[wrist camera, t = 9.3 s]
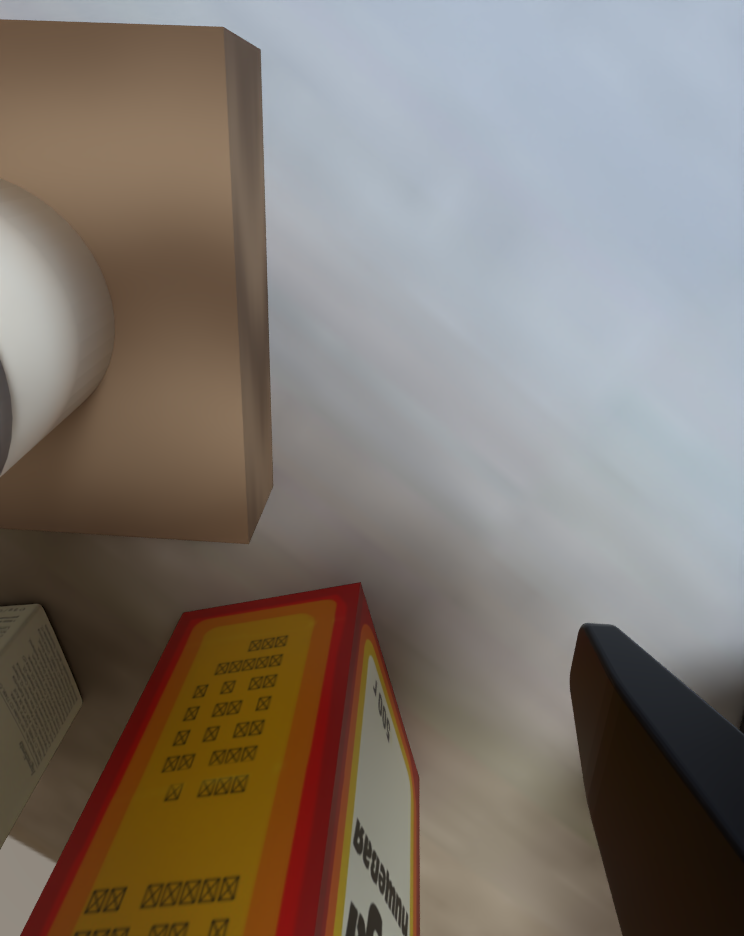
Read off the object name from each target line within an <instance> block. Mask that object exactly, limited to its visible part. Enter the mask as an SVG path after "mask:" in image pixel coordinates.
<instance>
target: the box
mask: <svg viewBox="0 0 744 936" xmlns="http://www.w3.org/2000/svg"><path fill="white" fill-rule="evenodd" d="M81 706H82V699H81V696H80V693H79V691H78V688H77V685H76V683H75V680H74V678H73V675H72V673H71V671H70V668H69V666H68V663H67V661H66V659H65V657H64V654H63V652H62V649H61V647H60V645H59V642H58V640H57V638H56V636H55V633H54V631H53V629H52V627H51V624H50V622H49V620H48V618H47V615H46V613H45V611H44V609H43V607H42V606H41V605H39V604H29V605H13V606H3V607H0V849H1V847H2V845H3V843H4V842H5V840H6V838H7V836H8V835H9V833H10V831H11V829H12V828H13V826H14V824H15V822H16V820H17V819H18V817H19V815H20V813H21V812H22V810H23V808H24V806H25V804H26V803H27V801H28V799H29V797H30V796H31V794H32V792H33V790H34V789H35V787H36V785H37V783H38V781H39V780H40V778H41V776H42V774H43V773H44V771H45V769H46V767H47V766H48V764H49V762H50V760H51V759H52V757H53V755H54V753H55V752H56V750H57V748H58V746H59V744H60V743H61V741H62V739H63V737H64V736H65V734H66V732H67V731H68V729H69V727H70V725H71V724H72V722H73V720H74V718H75V716H76V715H77V713H78V711H79V709H80V708H81Z"/></svg>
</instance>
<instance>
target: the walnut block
mask: <svg viewBox="0 0 744 936" xmlns="http://www.w3.org/2000/svg"><path fill="white" fill-rule="evenodd" d="M0 178H1V179H3V180H6V181H8V182H10V183H13V184H15V185H17V186H19V187H21V188H23V189H24V190H26V191H28V192H30V193H31V194H33V195H35V196H36V197H38V198H39V199H40V200H42V201H43V202H45V203H46V204H47V205H49V206H50V207H51V208H53V209H54V210H55V211H56V212H57V213H58V214H59V215H60V216H61V217H62V218H64V219H65V220H66V221H67V222H68V223H69V225H70V226H71V227H72V228H73V229H74V230H75V231H76V233H77V234H78V235H79V236H80V237H81V239H82V240H83V242H84V243H85V244H86V246H87V247H88V249H89V250H90V251H91V253H92V255H93V257H94V258H95V260H96V262H97V264H98V266H99V268H100V270H101V272H102V274H103V277H104V279H105V282H106V284H107V287H108V291H109V294H110V298H111V301H112V307H113V313H114V327H115V336H114V345H113V351H112V355H111V359H110V362H109V365H108V368H107V370H106V372H105V375H104V377H103V379H102V380H101V382H100V383H99V385H98V386H97V388H96V389H95V390H94V392H93V393H92V394H91V395H90V396H89V397H88V398H87V399H86V400H85V401H84V402H83V403H82V404H81V405H80V406H79V407H77V408H76V409H75V410H74V411H73V412H72V413H71V414H70V415H69V416H68V417H66V418H65V419H64V420H63V421H62V422H61V423H60V424H59V425H58V426H56V427H55V428H54V429H53V430H52V431H51V432H50V433H49V434H48V435H46V436H45V437H44V438H43V439H42V440H41V441H40V442H39V443H38V444H37V445H35V446H34V447H33V448H32V449H31V450H30V451H29V452H28V453H27V454H25V455H24V456H23V457H22V458H21V459H20V460H19V461H18V462H17V463H16V464H14V465H13V466H12V467H11V468H10V469H9V470H8V471H7V472H6V473H4V474H3V475H2V476H1V477H0V528H2V529H18V530H34V531H50V532H66V533H82V534H98V535H113V536H129V537H145V538H161V539H177V540H193V541H209V542H225V543H240V544H249V542H250V540H251V538H252V535H253V533H254V531H255V528H256V526H257V523H258V521H259V519H260V516H261V514H262V512H263V509H264V507H265V504H266V502H267V500H268V497H269V495H270V493H271V490H272V488H273V462H272V428H271V393H270V359H269V324H268V289H267V255H266V220H265V186H264V151H263V117H262V82H261V50H260V49H259V48H257V47H255V46H254V45H252V44H250V43H249V42H247V41H246V40H244V39H242V38H241V37H239V36H237V35H236V34H234V33H232V32H231V31H229V30H228V29H226V28H224V27H209V26H180V25H150V24H120V23H90V22H61V21H31V20H1V19H0Z"/></svg>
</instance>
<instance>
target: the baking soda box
mask: <svg viewBox="0 0 744 936" xmlns="http://www.w3.org/2000/svg"><path fill="white" fill-rule="evenodd" d="M20 936H420V855H419V775H418V772H417V769H416V765H415V762H414V759H413V755H412V752H411V749H410V745H409V742H408V739H407V735H406V732H405V729H404V725H403V722H402V719H401V715H400V712H399V709H398V705H397V702H396V699H395V695H394V692H393V689H392V685H391V682H390V679H389V675H388V672H387V669H386V665H385V662H384V659H383V655H382V652H381V649H380V645H379V642H378V639H377V635H376V632H375V629H374V625H373V622H372V619H371V615H370V612H369V609H368V605H367V602H366V599H365V595H364V592H363V589H362V585H361V582H360V583H354V584H348V585H342V586H336V587H330V588H325V589H319V590H313V591H307V592H301V593H295V594H290V595H284V596H278V597H272V598H266V599H260V600H254V601H249V602H243V603H237V604H231V605H225V606H219V607H214V608H208V609H202V610H196V611H190V612H184V613H183V614H182V616H181V618H180V620H179V622H178V624H177V626H176V628H175V630H174V632H173V634H172V636H171V638H170V640H169V642H168V644H167V646H166V648H165V650H164V652H163V654H162V656H161V658H160V660H159V662H158V664H157V666H156V668H155V670H154V672H153V674H152V676H151V677H150V679H149V681H148V683H147V685H146V687H145V689H144V691H143V693H142V695H141V697H140V699H139V701H138V703H137V705H136V707H135V709H134V711H133V713H132V715H131V717H130V719H129V721H128V723H127V725H126V727H125V729H124V731H123V733H122V735H121V737H120V739H119V741H118V743H117V745H116V747H115V749H114V751H113V753H112V755H111V757H110V759H109V761H108V763H107V765H106V767H105V769H104V771H103V773H102V775H101V777H100V779H99V781H98V782H97V784H96V786H95V788H94V790H93V792H92V794H91V796H90V798H89V800H88V802H87V804H86V806H85V808H84V810H83V812H82V814H81V816H80V818H79V820H78V822H77V824H76V826H75V828H74V830H73V832H72V834H71V836H70V838H69V840H68V842H67V844H66V846H65V848H64V850H63V852H62V854H61V856H60V858H59V860H58V862H57V864H56V866H55V868H54V870H53V872H52V874H51V876H50V878H49V880H48V882H47V884H46V886H45V887H44V889H43V891H42V893H41V896H40V897H39V900H38V901H37V903H36V906H35V907H34V909H33V911H32V913H31V915H30V917H29V920H28V921H27V923H26V925H25V927H24V929H23V931H22V933H21V935H20Z"/></svg>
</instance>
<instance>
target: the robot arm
mask: <svg viewBox="0 0 744 936" xmlns="http://www.w3.org/2000/svg"><path fill="white" fill-rule="evenodd" d="M570 692H571V699H572V706H573V712H574V719H575V726H576V733H577V739H578V746H579V753H580V760H581V766H582V773H583V780H584V786H585V792H586V798H587V803H588V807H589V811H590V815H591V820H592V823H593V827H594V831H595V835H596V838H597V842H598V846H599V850H600V853H601V857H602V861H603V865H604V868H605V872H606V876H607V879H608V883H609V887H610V891H611V894H612V898H613V902H614V906H615V909H616V913H617V917H618V920H619V924H620V928H621V932H622V935H623V936H744V718H743V721H742V723H741V726H740V729H739V730H738V729H737V728H736V727H735V726H734V725H732V724H731V723H730V722H729V721H728V720H726V719H725V718H724V717H723V716H722V715H720V714H719V713H718V712H717V711H716V710H715V709H713V708H712V707H711V706H710V705H709V704H707V703H706V702H705V701H704V700H703V699H702V698H700V697H699V696H698V695H697V694H696V693H694V692H693V691H692V690H691V689H690V688H688V687H687V686H686V685H685V684H684V683H683V682H681V681H680V680H679V679H678V678H677V677H675V676H674V675H673V674H672V673H671V672H670V671H668V670H667V669H666V668H665V667H664V666H662V665H661V664H660V663H659V662H658V661H657V660H655V659H654V658H653V657H652V656H651V655H649V654H648V653H647V652H646V651H645V650H643V649H642V648H641V647H640V646H639V645H638V644H636V643H635V642H634V641H633V640H632V639H630V638H629V637H628V636H627V635H626V634H625V633H623V632H622V631H621V630H620V629H619V628H617V627H616V626H614V625H610V624H595V623H585V624H583V625H582V626H581V627H580V629H579V632H578V636H577V641H576V646H575V651H574V656H573V661H572V666H571V671H570Z"/></svg>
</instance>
